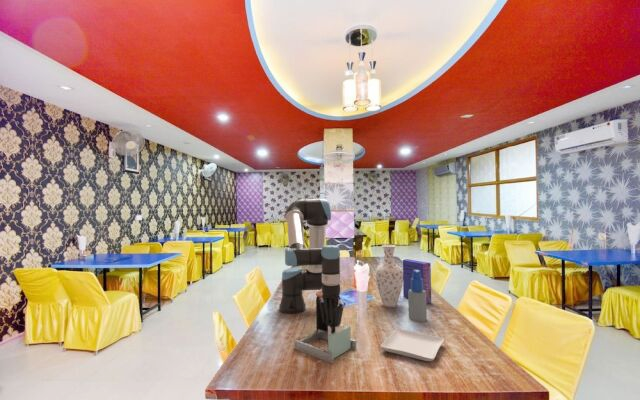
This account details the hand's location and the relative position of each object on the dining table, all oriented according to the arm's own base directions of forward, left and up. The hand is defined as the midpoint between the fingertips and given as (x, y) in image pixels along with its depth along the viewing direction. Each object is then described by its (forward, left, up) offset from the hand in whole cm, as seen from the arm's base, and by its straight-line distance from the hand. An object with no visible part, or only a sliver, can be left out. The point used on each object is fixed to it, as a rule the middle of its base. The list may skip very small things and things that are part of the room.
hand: (331, 341), depth 130 cm
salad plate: (+24, +23, -5) cm, 34 cm away
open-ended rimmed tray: (-4, 0, -4) cm, 5 cm away
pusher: (+4, 0, -4) cm, 6 cm away
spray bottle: (+11, +57, -4) cm, 58 cm away
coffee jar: (-15, +15, -4) cm, 21 cm away
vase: (-11, +68, -4) cm, 69 cm away
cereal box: (-3, +88, -4) cm, 88 cm away
